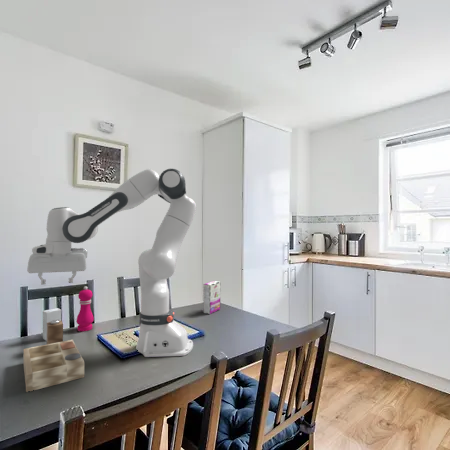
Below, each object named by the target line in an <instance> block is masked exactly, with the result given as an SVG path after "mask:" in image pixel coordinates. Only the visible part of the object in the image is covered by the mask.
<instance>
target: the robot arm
mask: <svg viewBox="0 0 450 450" xmlns="http://www.w3.org/2000/svg"><path fill="white" fill-rule="evenodd" d="M186 194H187V182H186V179H185V175H184V174H183V173H182V172H181V171H180V170H178V169H176V168H168V169H165V170H163V171H162V172H161V174H159V173H158V172H157V171H156V170H154V169H151V168H146V169H144V170H142V171H140V172H138V173H136V174H134V175H133V176H131V177H129V178H128V179H127V180H126V181H124V182H123V183H122V184H120V185H119V186H118V187H117V188H116V189H115V191H113V192H112V193H111V194H110V195H109V196H108V197H107V198H106V199H104V200H103V201H101V202H100V203H99V204H97V205H96V206H94V207H92V208H91V209H89V210H88V211H86V212H84V213H81V214H80V213H78V212H76V211H74V210H73V209H72V208H71V207H68V206H64V207H63V206H62V207H61V206H60V207H54V208H52V209H51V210H49V212H48V214H47V220H46V232H47V236H46V239H45V244H41V245H37V246H34V247H32V248H31V253H32V254H30V256H29V258H28V262H27V273H28V274H37V277H38V278H39V279H40V285H46V281H47V280H46V278H43V277H42V276H43V274H46V273H50V274H51V273H69V272H71V274H72V276H71V277H68V283H69V284H73V283H74V279H75V277H76V275H77V272H85V271H86V269H87V258H88V251H87V250H86V249H85V248H83V247H80V248H77V247H75V248H73V247H72V244H81V243H84V242H86V241H88V240H91V239H93V238H95V236H96V235H97V233H98V229H99V225H101V224H102V223H104V222H105V221H106V220H108V219H109V218H110V217H112V216H113V215H115V214H118V213H120V212H124V211H127V210H131V209H134V208H136V207H138V206H140V205H142V204H143V203H144V202H145V201H146V200H148V199H150V198H151V197H153V196H155V195H157V196H158V197H159V198H161V199H163V200H164V201H165V202H167V203H169V208H168V209H167V212H166V213H165V215H164V217H163V220H162V222H161V223H160V225H159V227H158V228H157V230H156V235H155V239H154V242H153V244H152V248H149V249H146V250H144V251H143V252H142V253H140V255H139V257H138V259H137V260H138V262H137V263H138V274H139V284H140V285H139V287H140V312H139V316H138V317H139V319H138V323H139V332H138V333H139V335H138V339H137V342H136V347H135V350H136V349H137V350H138V351H137V350H136V351H137V352H139V353H140V354H142V355H143V356H144V357H145V358H151V357H152V358H154V357H156V358H158V357H179V356H183V357H184V356H187V355H188V354H190V353H191V351H192V350H193V348H194V342H193V340H192V339H189V337H188V332H187V330H186V328H185V327H183V326H182V325H181V324H179V323H178V322H176V321H175V320H174V319H175V312H174V311H173V312H171V310H170V289H169V285H168V281H167V280H168V279H170V278H171V277H172V276H173V275H174V274H175V272H176V262H177V259H178V257H179V252H180V249H181V246H182V244H183V241H184V240H185V237H186V235H187V233H188V231H189V229H190V227H191V225H192V223H193V220H194V217H195V215H196V211H197V204H196V201H194V200H193V198H191V197H189V196H188V195H186Z"/></svg>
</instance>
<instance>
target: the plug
mask: <svg viewBox="0 0 450 450" xmlns="http://www.w3.org/2000/svg"><path fill="white" fill-rule="evenodd" d="M63 341H64V323H63V321H62V320H61V321H59V320H52V321H51V322H48V323H47V341H46V345H47V344H52V343H57V342H63Z"/></svg>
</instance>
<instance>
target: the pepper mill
mask: <svg viewBox="0 0 450 450" xmlns="http://www.w3.org/2000/svg"><path fill="white" fill-rule="evenodd" d="M93 295H94V294H93V292H92V290H90V289H89V287H88V286H85V285H84V287H83V289H81V290H80V291H79V293H78V296H77V298H78V299H79V305H80V309H79V312H78V315H77V316H76V324H77V331H78V332H87V331H92V329H93V322H94V321H95V320H94V315H93V312H92V309H91V303H92V297H93Z"/></svg>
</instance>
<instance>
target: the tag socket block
mask: <svg viewBox="0 0 450 450" xmlns="http://www.w3.org/2000/svg"><path fill="white" fill-rule="evenodd" d="M74 341H75V340H74V339H69V340H63V342H57V343H52V344H47V343H46V344H43V345H36V346H31V347H26V348H23V357H22V358H23V371H24V382H25V392H26V393H29V392H28V391H30V392H33V390H34V391H37V390H40V389H43V388H48V387H53V386H56V385H61V384H63V383H68V382H71V381H75V380H79V379H83V378H85V360H84V358H83V356H82V355H81V353H80V351H79V349H78V347H77V345H76V343H75V342H74Z"/></svg>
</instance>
